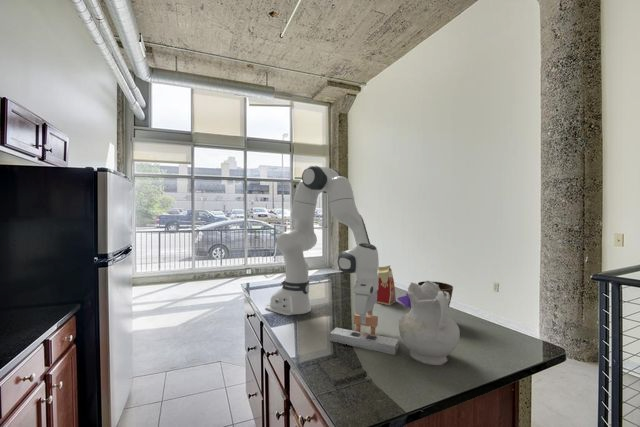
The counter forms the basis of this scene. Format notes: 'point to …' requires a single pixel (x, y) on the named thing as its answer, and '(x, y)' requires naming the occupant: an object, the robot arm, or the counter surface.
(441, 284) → the plant pot
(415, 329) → the ceramic pitcher
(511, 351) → the counter surface
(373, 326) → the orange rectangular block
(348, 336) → the rail
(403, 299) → the purple cone
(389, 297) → the red paper bag
